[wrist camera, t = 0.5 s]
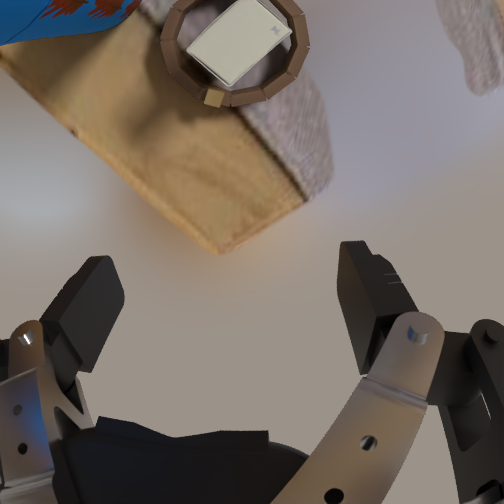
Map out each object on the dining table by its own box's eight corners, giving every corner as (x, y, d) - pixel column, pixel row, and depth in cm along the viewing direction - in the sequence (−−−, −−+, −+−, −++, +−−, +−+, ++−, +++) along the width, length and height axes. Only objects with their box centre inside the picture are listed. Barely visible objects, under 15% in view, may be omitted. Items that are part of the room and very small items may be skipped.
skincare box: (241, 7, 23) (251, -13, 13) (271, 33, 25) (297, 29, 15) (197, 47, 25) (182, 50, 16) (227, 72, 27) (229, 89, 18)
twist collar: (151, 85, 27) (143, 90, 24) (192, -32, 19) (188, -41, 16) (272, 116, 31) (278, 125, 28) (320, 7, 23) (331, 4, 20)
